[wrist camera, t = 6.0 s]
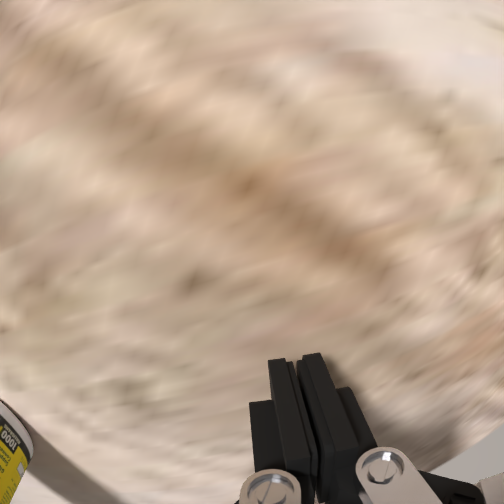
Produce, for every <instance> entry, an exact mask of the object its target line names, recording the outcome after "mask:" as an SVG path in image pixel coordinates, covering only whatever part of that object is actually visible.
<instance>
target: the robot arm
mask: <svg viewBox="0 0 504 504" xmlns="http://www.w3.org/2000/svg"><path fill="white" fill-rule="evenodd" d="M268 368H269V378H270V388H271V398H272V400H266V401H258V402H249V408H250V420H251V432H252V443H253V455H254V466H255V473H254V474H253V475H251V476H250V477H248V478H247V480H246V481H245V482H244V483H243V485H242V488H241V492H240V498H239V500H238V501H237V502H236V503H234V504H314V499H315V490H316V494H317V499H318V502H319V503H324V502H325V504H504V472H503V473H500V474H497V475H494V476H491V477H488V478H485V479H482V480H480V481H479V482H478V483H477V484H470V483H466V482H462V481H458V480H453V479H449V478H445V477H441V476H437V475H434V474H430V473H427V472H423V471H420V470H417V469H416V468H415V467H414V465H413V464H412V463H411V461H410V460H409V459H408V457H407V456H406V455H405V454H404V453H403V452H402V451H400V450H397V449H395V448H391V447H378V446H377V444H376V441H375V439H374V437H373V435H372V433H371V431H370V428H369V426H368V424H367V422H366V420H365V418H364V415H363V413H362V411H361V409H360V407H359V405H358V403H357V401H356V398H355V396H354V394H353V392H352V390H351V389H350V387H344V388H339V389H335V386H334V384H333V381H332V379H331V377H330V374H329V372H328V370H327V367H326V365H325V363H324V360H323V358H322V356H321V354H320V353H314V354H308V355H303V357H302V360H298V361H297V376H296V373H295V369H294V366H293V362H292V361H291V362H286V360H285V358H281V359H273V360H268Z"/></svg>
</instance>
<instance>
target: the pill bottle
mask: <svg viewBox="0 0 504 504" xmlns="http://www.w3.org/2000/svg"><path fill="white" fill-rule="evenodd" d="M32 455H33V444H32V440H31V438H30V436H29V434H28V432H27V430H26V429H25V427H24V426H23V425H22V423H21V422H20V421H19V420H18V419H17V417H16V416H15V415H14V414H13V413H12V412H11V411H10V410H9V409H8V408H7V407H6V406H5V405H4V404H3V403H2V402H1V401H0V504H10V502H11V499H12V497H13V495H14V493H15V491H16V489H17V487H18V485H19V483H20V480H21V478H22V477H23V475H24V472H25V470H26V468H27V466H28V464H29V462H30V460H31V458H32Z"/></svg>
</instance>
